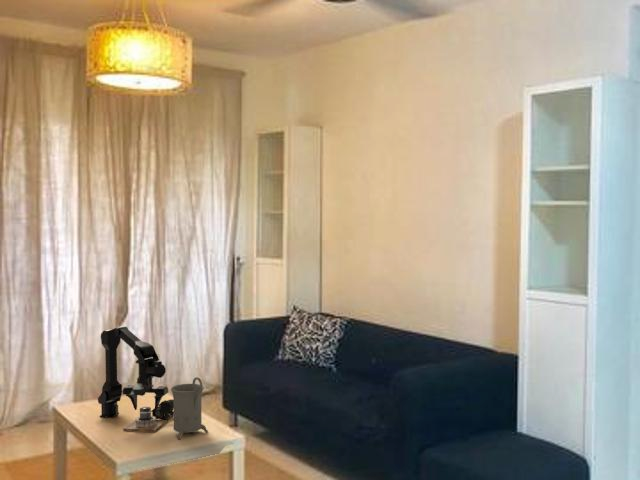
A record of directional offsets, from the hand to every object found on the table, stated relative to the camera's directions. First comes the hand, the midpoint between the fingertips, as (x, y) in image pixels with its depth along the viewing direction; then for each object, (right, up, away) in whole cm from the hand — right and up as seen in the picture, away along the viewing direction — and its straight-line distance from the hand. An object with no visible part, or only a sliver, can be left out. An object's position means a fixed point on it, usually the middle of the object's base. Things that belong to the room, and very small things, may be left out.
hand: (145, 410), depth 289 cm
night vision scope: (+5, -7, +14) cm, 16 cm away
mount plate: (0, -7, 0) cm, 7 cm away
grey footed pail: (+21, -8, -10) cm, 24 cm away
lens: (0, -6, 0) cm, 6 cm away
